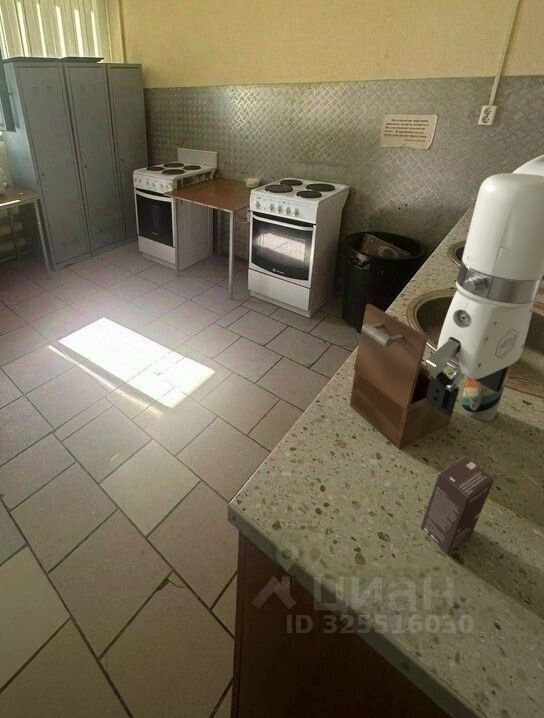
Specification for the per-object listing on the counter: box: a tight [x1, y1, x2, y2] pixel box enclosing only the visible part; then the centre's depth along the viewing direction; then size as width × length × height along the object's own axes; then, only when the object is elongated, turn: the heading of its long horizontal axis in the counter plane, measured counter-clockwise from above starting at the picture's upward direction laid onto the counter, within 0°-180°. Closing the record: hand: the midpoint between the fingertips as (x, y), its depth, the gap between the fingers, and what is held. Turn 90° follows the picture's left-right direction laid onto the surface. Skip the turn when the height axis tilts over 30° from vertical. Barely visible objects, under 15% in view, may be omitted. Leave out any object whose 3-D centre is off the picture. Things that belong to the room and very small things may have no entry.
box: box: [419, 456, 495, 556], centre depth 56 cm, size 6×4×12 cm
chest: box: [349, 362, 460, 450], centre depth 77 cm, size 14×12×9 cm
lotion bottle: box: [460, 364, 513, 422], centre depth 76 cm, size 6×6×20 cm
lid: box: [353, 303, 429, 410], centre depth 70 cm, size 15×12×5 cm
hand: (463, 395), depth 52 cm, fingers open, 9 cm apart
